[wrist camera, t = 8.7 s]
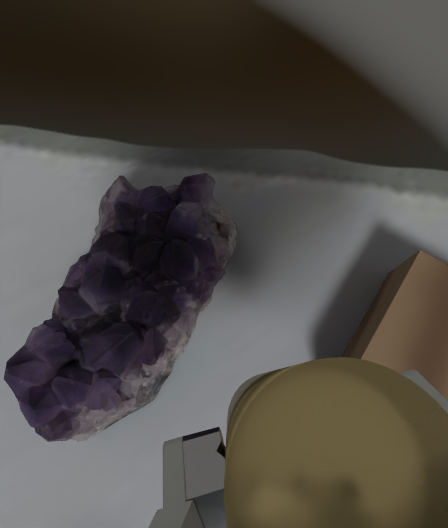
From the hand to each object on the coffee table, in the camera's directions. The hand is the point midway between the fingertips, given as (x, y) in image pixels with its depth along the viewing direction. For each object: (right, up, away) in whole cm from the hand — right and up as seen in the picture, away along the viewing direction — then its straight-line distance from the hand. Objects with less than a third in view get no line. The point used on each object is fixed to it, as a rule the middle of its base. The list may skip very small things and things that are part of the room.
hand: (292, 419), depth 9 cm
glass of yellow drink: (0, -3, +5) cm, 6 cm away
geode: (-8, 0, +19) cm, 21 cm away
